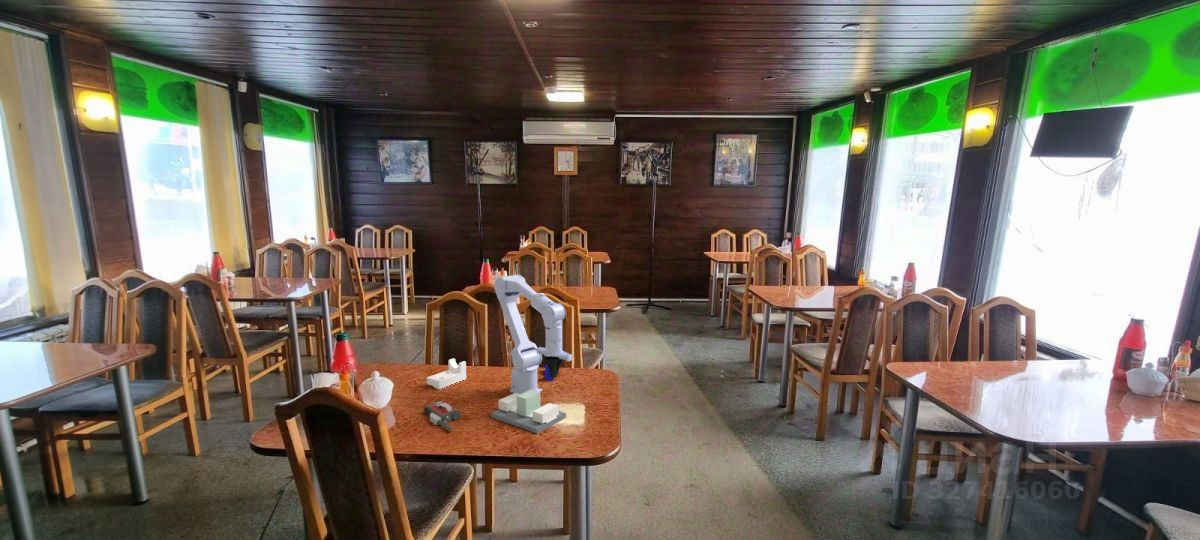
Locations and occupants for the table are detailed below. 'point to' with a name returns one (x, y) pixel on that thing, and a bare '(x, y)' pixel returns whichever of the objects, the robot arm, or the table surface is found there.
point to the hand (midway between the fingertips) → (554, 377)
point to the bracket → (448, 375)
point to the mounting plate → (533, 422)
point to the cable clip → (547, 374)
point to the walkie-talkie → (442, 413)
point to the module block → (528, 402)
